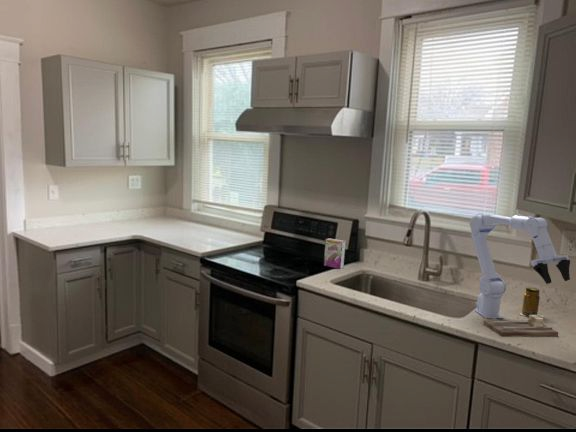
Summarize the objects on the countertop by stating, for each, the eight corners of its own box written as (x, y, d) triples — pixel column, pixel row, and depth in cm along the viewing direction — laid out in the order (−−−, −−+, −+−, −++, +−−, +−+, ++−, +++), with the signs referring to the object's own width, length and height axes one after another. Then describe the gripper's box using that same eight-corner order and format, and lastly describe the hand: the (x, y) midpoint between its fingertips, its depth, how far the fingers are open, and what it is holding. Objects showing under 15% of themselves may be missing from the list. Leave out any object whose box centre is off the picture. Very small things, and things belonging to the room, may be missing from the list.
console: (483, 324, 180) (484, 318, 180) (536, 324, 183) (537, 318, 183) (501, 336, 168) (501, 330, 168) (557, 335, 172) (558, 330, 171)
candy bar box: (323, 266, 261) (325, 239, 259) (326, 264, 265) (328, 237, 263) (340, 269, 256) (342, 241, 253) (343, 267, 260) (345, 240, 258)
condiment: (523, 311, 199) (526, 285, 198) (544, 316, 194) (547, 290, 192) (518, 314, 194) (522, 288, 192) (539, 320, 188) (543, 293, 187)
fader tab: (527, 323, 178) (529, 314, 178) (534, 323, 179) (535, 315, 178) (535, 328, 174) (536, 319, 174) (542, 328, 174) (543, 319, 174)
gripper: (533, 246, 163) (547, 281, 158) (568, 241, 165) (583, 276, 160) (522, 252, 169) (535, 286, 164) (556, 247, 171) (570, 281, 166)
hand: (558, 281), depth 162 cm, fingers open, 7 cm apart
